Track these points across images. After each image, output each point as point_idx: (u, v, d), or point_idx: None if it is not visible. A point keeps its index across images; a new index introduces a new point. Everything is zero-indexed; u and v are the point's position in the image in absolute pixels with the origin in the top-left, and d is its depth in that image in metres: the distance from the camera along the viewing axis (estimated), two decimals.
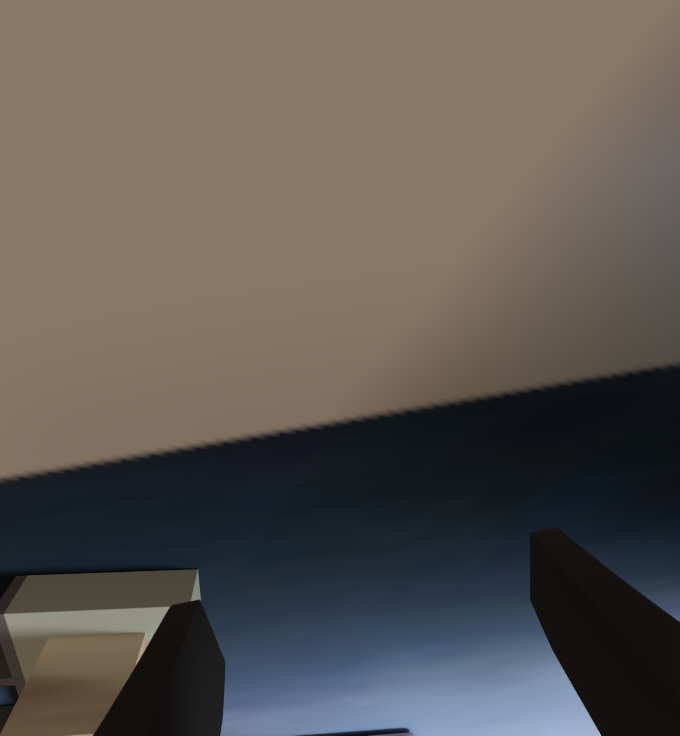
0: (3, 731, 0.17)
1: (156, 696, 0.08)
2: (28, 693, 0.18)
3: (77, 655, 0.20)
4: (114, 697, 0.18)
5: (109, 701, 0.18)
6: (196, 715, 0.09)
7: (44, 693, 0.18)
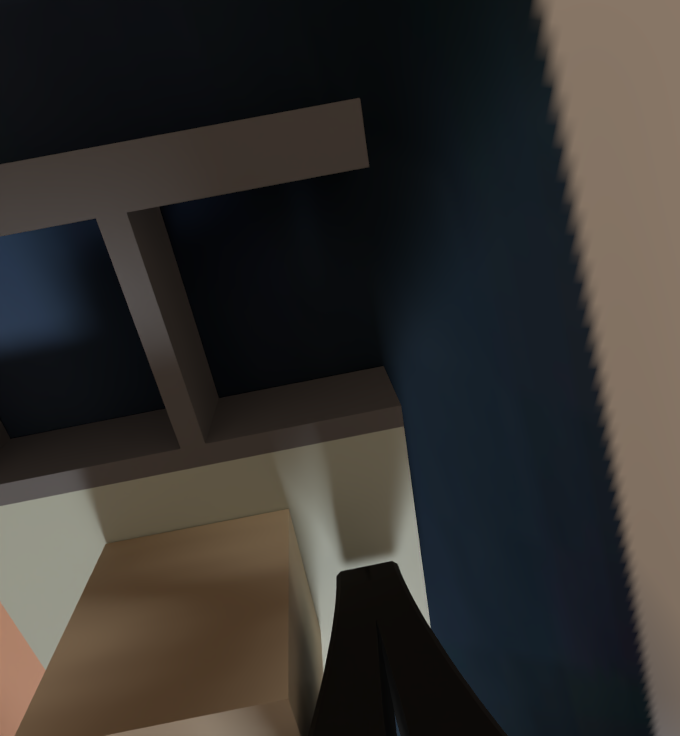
0: (289, 681, 0.07)
1: (372, 652, 0.08)
2: (291, 613, 0.08)
3: (303, 593, 0.10)
4: None
5: None
6: (386, 676, 0.09)
7: (298, 638, 0.09)
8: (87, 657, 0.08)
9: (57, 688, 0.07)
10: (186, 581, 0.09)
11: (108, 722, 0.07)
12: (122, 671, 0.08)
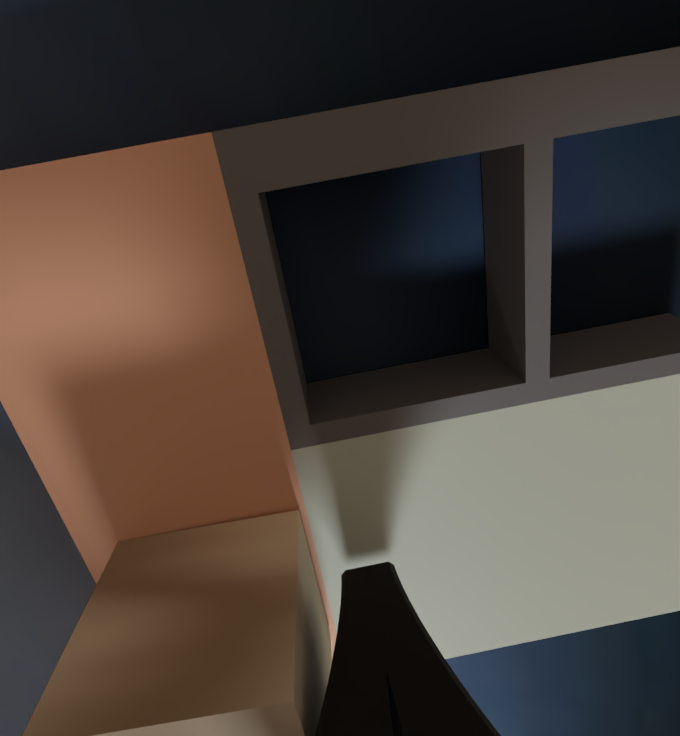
0: (295, 684, 0.07)
1: (378, 651, 0.08)
2: (299, 615, 0.08)
3: (312, 595, 0.10)
4: None
5: None
6: None
7: (306, 640, 0.09)
8: (97, 653, 0.08)
9: (67, 683, 0.08)
10: (195, 580, 0.09)
11: (116, 718, 0.07)
12: (131, 669, 0.08)
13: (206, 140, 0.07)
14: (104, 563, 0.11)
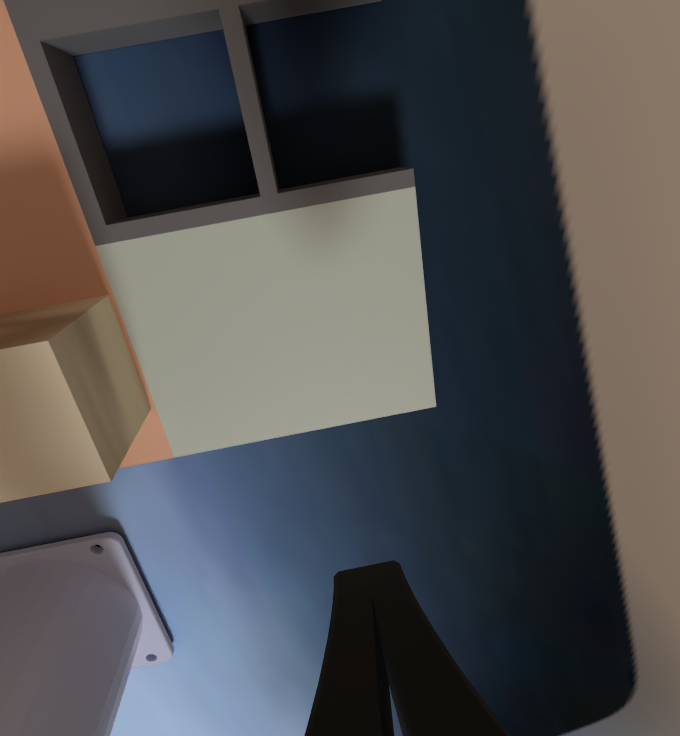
0: (54, 338, 0.11)
1: (369, 652, 0.08)
2: (80, 329, 0.12)
3: (116, 351, 0.14)
4: (120, 441, 0.14)
5: (117, 441, 0.13)
6: (383, 676, 0.09)
7: (89, 350, 0.13)
8: None
9: None
10: (19, 321, 0.13)
11: None
12: None
13: None
14: None
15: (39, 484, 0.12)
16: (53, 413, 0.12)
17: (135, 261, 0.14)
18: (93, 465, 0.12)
